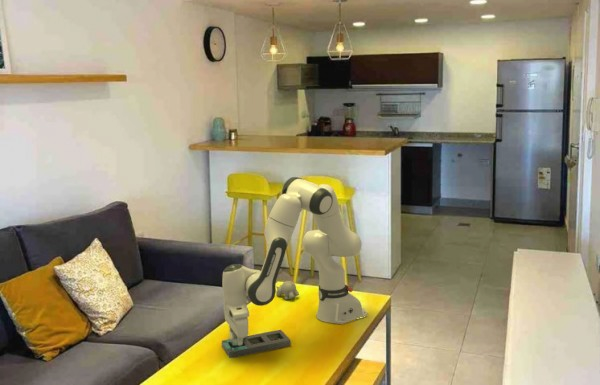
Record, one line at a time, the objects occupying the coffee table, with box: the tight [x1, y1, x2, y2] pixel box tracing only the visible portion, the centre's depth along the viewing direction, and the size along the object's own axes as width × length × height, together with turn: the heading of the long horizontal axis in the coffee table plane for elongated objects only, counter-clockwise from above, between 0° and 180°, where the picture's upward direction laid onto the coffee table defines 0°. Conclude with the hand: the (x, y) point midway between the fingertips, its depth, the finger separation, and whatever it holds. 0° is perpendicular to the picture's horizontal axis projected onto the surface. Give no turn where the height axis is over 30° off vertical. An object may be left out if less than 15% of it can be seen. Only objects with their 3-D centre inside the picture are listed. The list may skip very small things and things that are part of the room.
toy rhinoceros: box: [275, 280, 300, 301], centre depth 288 cm, size 7×12×8 cm, turn 52°
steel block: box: [228, 329, 243, 348], centre depth 234 cm, size 4×4×8 cm
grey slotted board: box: [221, 329, 292, 359], centre depth 237 cm, size 25×11×3 cm, turn 112°
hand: (236, 339), depth 233 cm, fingers open, 8 cm apart
